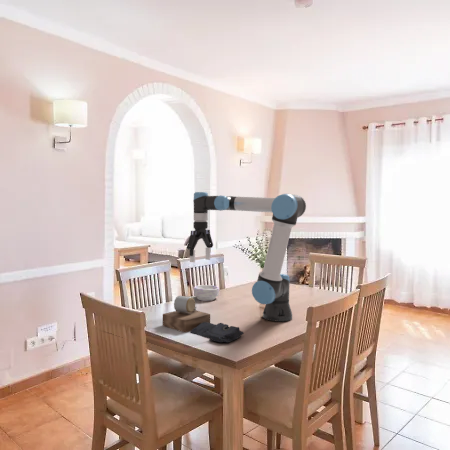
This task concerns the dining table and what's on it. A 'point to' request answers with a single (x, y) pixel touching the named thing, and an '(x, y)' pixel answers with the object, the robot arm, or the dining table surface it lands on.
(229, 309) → the dining table surface
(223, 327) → the black flat crumpled piece
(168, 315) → the walnut riser block
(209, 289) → the paper bowls
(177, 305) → the ceramic mug
